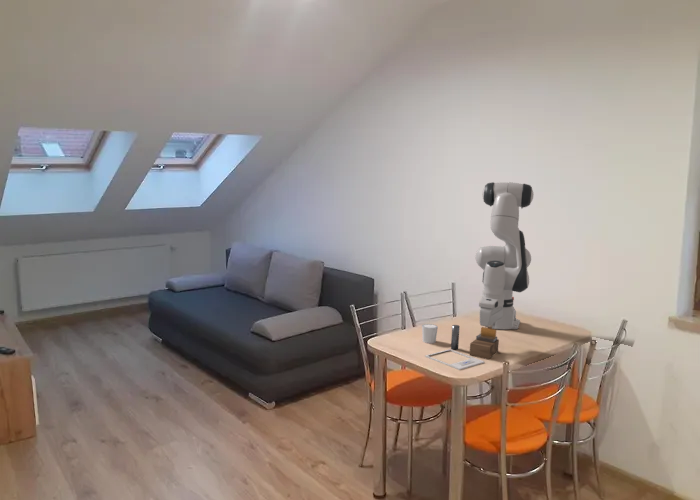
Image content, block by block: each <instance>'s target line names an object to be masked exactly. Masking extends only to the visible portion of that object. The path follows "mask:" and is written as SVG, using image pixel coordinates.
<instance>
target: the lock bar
mask: <svg viewBox="0 0 700 500" xmlns="http://www.w3.org/2000/svg"><path fill="white" fill-rule="evenodd" d="M475 340H481V341H486V342H491V343H494V342H495V341H496V340H498V336H497V329H491V328H488V327H486V326H482V327H480V333H479V334H478V335H476V338H475Z"/></svg>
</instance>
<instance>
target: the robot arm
mask: <svg viewBox="0 0 700 500" xmlns="http://www.w3.org/2000/svg"><path fill="white" fill-rule="evenodd" d="M532 187H533V186H531V185H530V184H527V183H518V182H510V181H509V182H494V181H493V182H488V183H486V184H485V185H484V188H483V190H482V199H483V202H484V203H485V204H486V205H488V206H489V207H492V209H491V216H490V230H491V232H492V234H493V235H494V236H495V238H497V239H499V240H500V241H502V242H504V243H505V245H504V246H503V245H502V246H501V245H499V246H498V245H487V246H482V247H481V246H480V247H479V248H478V249H477V251H476V253H475V256H474V257H475V261H476V264H477V265H478V266H479V268H480V269H482V270H483V273H482V281H481V282H482V284H483V289H482V296H481V298H480V300H479V303H478V307H479V308H480V309H479V324H480V326H482V327H486V328H491V329H496V330H518V329H519V328H520V324H521V321H520V319H517V311H516V309H515V307H514V301H515V297H514V296H513V294H514V293H513V292H516V293H522V292H524V291H526V290H527V289H528V287H529V285H530V275H529V272H528V267H529V266H530V264H531V262H532V256H531V252H530V251H529V250H528V249H527V247H526V240H525V235H524V232H523V231H522V230H520V228H519V221H520V220H519V219H520V208H521V210H522V209H523V208H527V207H529V206H530V205H531V204H532V202H533V199H534V190H533V188H532Z"/></svg>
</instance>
